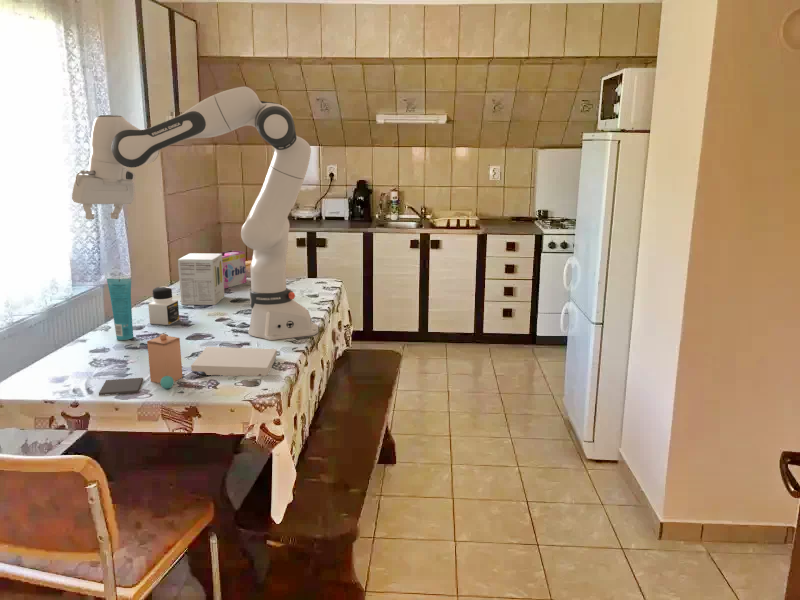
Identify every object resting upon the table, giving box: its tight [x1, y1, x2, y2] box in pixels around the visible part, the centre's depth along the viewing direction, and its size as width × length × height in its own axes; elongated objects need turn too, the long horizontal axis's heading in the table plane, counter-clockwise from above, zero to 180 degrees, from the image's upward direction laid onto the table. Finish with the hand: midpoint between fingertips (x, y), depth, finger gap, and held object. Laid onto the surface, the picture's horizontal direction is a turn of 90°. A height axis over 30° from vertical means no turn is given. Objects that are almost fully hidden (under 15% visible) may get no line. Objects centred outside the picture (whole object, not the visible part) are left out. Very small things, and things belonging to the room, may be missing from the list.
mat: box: [98, 377, 144, 396], centre depth 167 cm, size 9×9×1 cm
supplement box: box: [177, 252, 226, 306], centre depth 252 cm, size 13×13×18 cm
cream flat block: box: [190, 346, 278, 377], centre depth 183 cm, size 15×3×20 cm
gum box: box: [216, 249, 247, 290], centre depth 276 cm, size 24×8×14 cm, turn 153°
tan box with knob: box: [146, 333, 183, 384], centre depth 172 cm, size 6×6×12 cm
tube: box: [106, 278, 134, 341], centre depth 205 cm, size 7×5×19 cm, turn 96°
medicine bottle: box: [147, 286, 180, 326], centre depth 224 cm, size 7×7×12 cm
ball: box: [159, 376, 175, 390], centre depth 167 cm, size 3×3×3 cm
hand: (102, 219), depth 194 cm, fingers open, 8 cm apart
